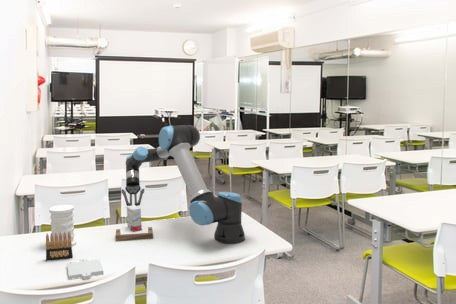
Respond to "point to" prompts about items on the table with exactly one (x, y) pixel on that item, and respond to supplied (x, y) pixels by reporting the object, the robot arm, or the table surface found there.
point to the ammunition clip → (58, 247)
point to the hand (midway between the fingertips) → (133, 216)
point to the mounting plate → (84, 268)
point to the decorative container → (62, 221)
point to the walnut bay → (134, 235)
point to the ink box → (134, 218)
